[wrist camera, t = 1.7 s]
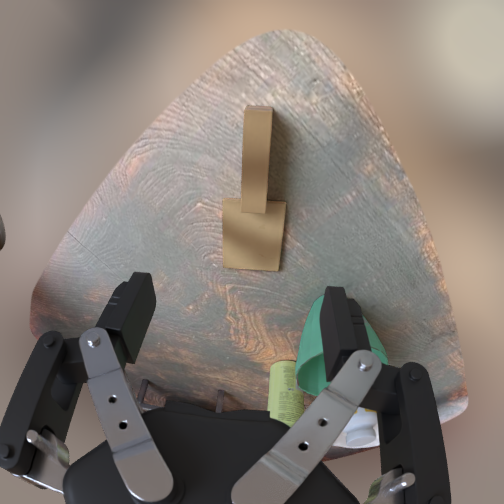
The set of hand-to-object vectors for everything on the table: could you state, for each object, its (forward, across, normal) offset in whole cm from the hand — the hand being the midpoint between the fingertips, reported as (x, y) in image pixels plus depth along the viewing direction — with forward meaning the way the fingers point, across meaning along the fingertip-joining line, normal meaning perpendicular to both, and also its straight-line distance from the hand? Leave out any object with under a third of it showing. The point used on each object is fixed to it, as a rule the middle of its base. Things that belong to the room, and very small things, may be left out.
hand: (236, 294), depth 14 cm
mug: (+17, -12, +18) cm, 27 cm away
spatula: (+17, 0, +2) cm, 17 cm away
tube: (+17, -6, +30) cm, 35 cm away
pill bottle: (+17, -18, +34) cm, 42 cm away
